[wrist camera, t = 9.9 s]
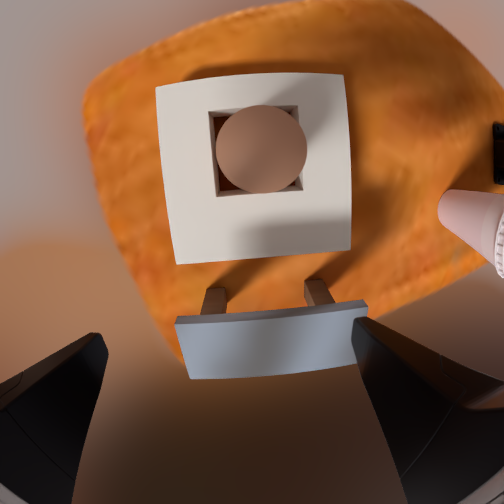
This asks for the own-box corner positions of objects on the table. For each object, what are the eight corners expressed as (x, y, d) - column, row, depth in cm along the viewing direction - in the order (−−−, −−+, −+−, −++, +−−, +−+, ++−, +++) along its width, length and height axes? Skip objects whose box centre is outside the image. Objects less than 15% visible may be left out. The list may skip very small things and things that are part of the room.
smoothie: (463, 165, 19) (583, 196, 6) (476, 223, 21) (577, 278, 8) (419, 191, 20) (551, 242, 7) (434, 252, 22) (539, 330, 9)
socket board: (330, 84, 17) (343, 75, 14) (337, 237, 21) (350, 249, 19) (167, 95, 17) (155, 87, 14) (185, 249, 21) (176, 264, 19)
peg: (281, 121, 18) (303, 103, 11) (285, 175, 20) (309, 190, 12) (225, 125, 18) (211, 109, 11) (230, 179, 20) (220, 197, 12)
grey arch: (325, 250, 22) (368, 306, 13) (324, 294, 23) (358, 362, 15) (199, 260, 22) (174, 324, 13) (206, 304, 23) (190, 378, 15)
